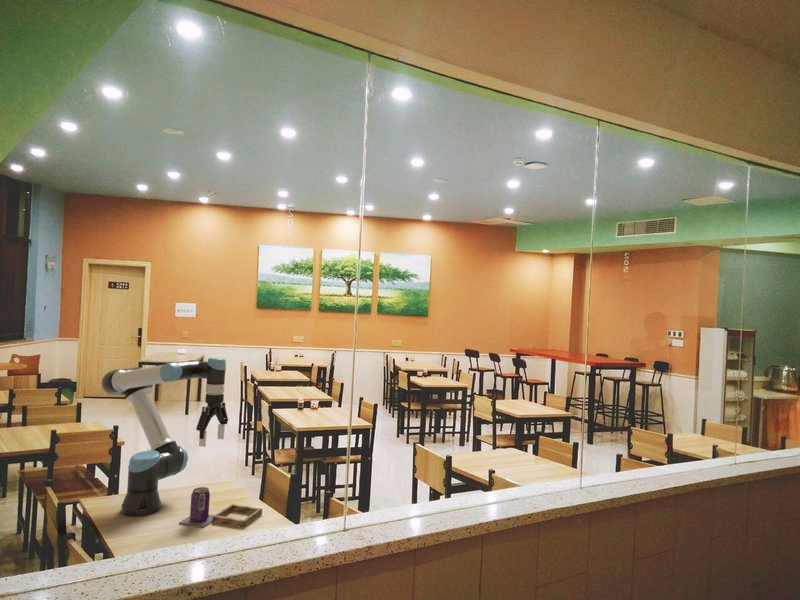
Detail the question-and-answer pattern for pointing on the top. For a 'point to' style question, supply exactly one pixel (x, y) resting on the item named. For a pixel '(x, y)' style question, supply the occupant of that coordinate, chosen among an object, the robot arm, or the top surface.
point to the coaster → (197, 524)
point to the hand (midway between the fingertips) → (211, 442)
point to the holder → (222, 519)
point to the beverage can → (200, 504)
